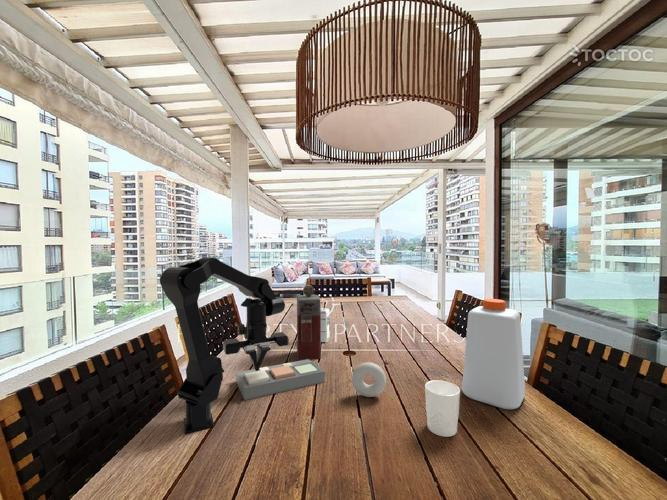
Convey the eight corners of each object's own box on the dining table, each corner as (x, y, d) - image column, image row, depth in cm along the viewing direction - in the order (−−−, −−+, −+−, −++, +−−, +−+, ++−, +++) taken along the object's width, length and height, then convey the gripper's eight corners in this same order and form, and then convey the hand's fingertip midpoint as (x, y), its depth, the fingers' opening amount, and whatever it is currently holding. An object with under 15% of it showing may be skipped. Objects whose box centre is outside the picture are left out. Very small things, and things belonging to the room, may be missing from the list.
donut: (351, 398, 89) (351, 363, 88) (352, 392, 92) (352, 359, 92) (386, 400, 87) (386, 365, 87) (386, 395, 91) (386, 361, 90)
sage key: (317, 376, 100) (317, 370, 100) (300, 379, 97) (300, 373, 97) (310, 369, 105) (310, 363, 105) (293, 372, 102) (293, 366, 102)
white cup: (432, 415, 80) (432, 377, 80) (463, 427, 75) (464, 386, 75) (419, 429, 74) (419, 388, 73) (453, 443, 69) (453, 399, 68)
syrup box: (327, 343, 138) (327, 310, 138) (314, 342, 139) (314, 310, 139) (329, 339, 143) (329, 308, 143) (317, 338, 145) (317, 307, 144)
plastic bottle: (473, 379, 101) (474, 294, 101) (527, 393, 91) (528, 299, 91) (457, 396, 90) (458, 300, 89) (517, 415, 80) (518, 307, 79)
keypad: (324, 382, 99) (324, 371, 99) (244, 400, 87) (244, 388, 87) (308, 367, 111) (308, 357, 111) (236, 381, 99) (236, 371, 99)
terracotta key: (294, 378, 96) (294, 372, 96) (275, 382, 93) (275, 375, 93) (288, 371, 101) (288, 365, 101) (270, 374, 99) (270, 368, 99)
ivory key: (269, 383, 92) (269, 377, 92) (248, 388, 90) (248, 381, 90) (264, 376, 98) (264, 369, 98) (244, 379, 95) (244, 373, 95)
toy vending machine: (297, 362, 116) (297, 287, 115) (297, 351, 127) (296, 283, 126) (321, 360, 117) (321, 287, 117) (318, 350, 128) (318, 283, 128)
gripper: (278, 311, 105) (278, 356, 105) (220, 317, 96) (220, 366, 96) (289, 318, 95) (289, 368, 95) (225, 325, 86) (225, 380, 86)
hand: (256, 370), depth 93 cm, fingers closed
